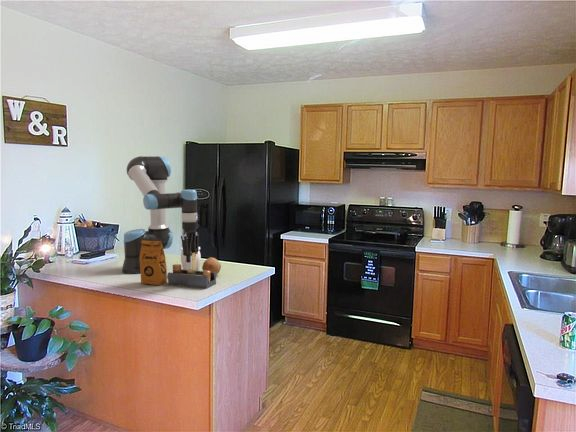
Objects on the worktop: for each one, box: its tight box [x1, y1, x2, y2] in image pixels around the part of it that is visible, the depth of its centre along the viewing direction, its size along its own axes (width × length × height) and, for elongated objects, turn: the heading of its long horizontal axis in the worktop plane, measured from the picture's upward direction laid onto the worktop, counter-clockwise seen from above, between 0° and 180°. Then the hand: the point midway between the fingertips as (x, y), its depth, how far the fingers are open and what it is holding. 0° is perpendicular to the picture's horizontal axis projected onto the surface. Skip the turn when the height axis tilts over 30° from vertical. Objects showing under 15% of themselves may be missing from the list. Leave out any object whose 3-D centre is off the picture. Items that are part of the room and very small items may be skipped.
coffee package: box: [139, 241, 168, 286], centre depth 214 cm, size 10×12×22 cm
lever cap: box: [187, 252, 196, 275], centre depth 212 cm, size 10×5×13 cm, turn 71°
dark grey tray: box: [167, 263, 217, 290], centre depth 212 cm, size 22×9×9 cm, turn 71°
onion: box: [201, 257, 222, 276], centre depth 229 cm, size 10×10×10 cm
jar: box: [180, 246, 202, 271], centre depth 232 cm, size 11×10×15 cm
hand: (191, 267), depth 212 cm, fingers closed on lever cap, 3 cm apart
